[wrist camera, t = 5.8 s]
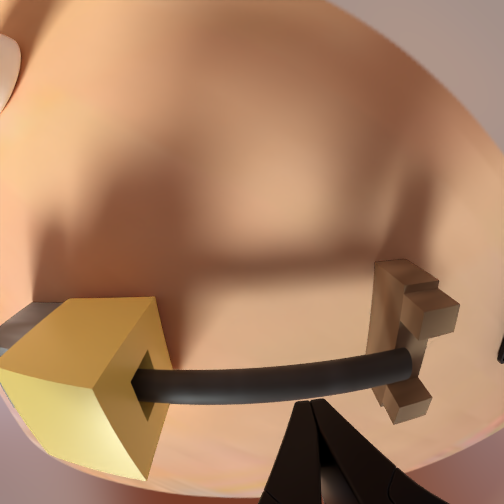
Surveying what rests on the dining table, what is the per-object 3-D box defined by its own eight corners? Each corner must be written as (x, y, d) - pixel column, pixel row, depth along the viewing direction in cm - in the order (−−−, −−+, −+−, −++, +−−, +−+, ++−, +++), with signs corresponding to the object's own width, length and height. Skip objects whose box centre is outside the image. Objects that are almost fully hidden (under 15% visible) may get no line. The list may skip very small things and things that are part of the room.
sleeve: (155, 296, 11) (91, 388, 5) (176, 382, 12) (146, 481, 7) (69, 298, 11) (-9, 365, 5) (97, 376, 12) (48, 454, 7)
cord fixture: (405, 258, 11) (468, 300, 7) (389, 366, 12) (427, 425, 8) (26, 284, 11) (-29, 320, 7) (60, 374, 13) (23, 422, 8)
